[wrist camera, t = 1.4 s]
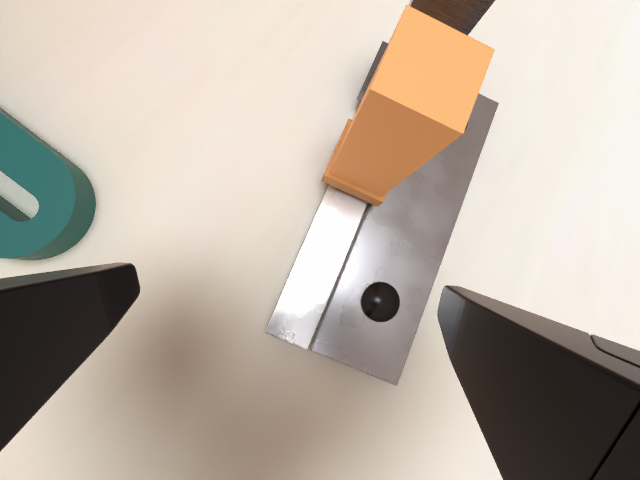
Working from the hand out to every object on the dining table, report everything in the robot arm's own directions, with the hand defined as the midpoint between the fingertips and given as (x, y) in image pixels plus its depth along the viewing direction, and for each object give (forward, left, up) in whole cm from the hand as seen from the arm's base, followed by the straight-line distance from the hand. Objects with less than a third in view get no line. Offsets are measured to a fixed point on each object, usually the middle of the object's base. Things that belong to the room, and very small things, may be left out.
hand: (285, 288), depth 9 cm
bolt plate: (+4, -9, -12) cm, 16 cm away
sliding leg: (+7, -5, -10) cm, 14 cm away
